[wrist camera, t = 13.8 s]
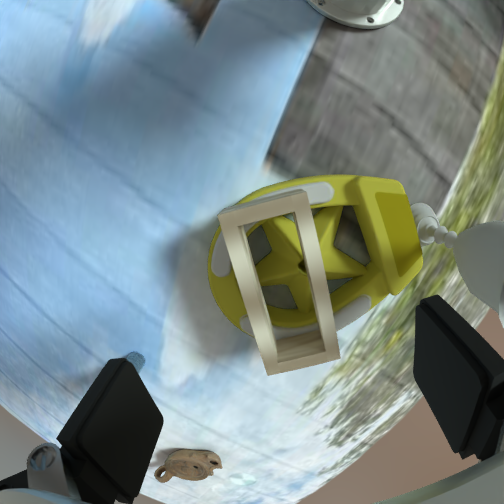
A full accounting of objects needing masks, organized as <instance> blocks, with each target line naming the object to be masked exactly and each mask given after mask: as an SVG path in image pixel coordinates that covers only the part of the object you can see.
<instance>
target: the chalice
mask: <svg viewBox="0 0 504 504" xmlns="http://www.w3.org/2000/svg"><path fill="white" fill-rule="evenodd" d="M410 207H411V211H412V214H413V218H414V221H415V225H416V229H417V233H418V237H419V241H420V245H421V247H422V246H426V245H429V244H431V243H433V242H434V241H435V242H436V243H437V244H442V243H445V246H446V247H447V248H452V247H453V253H454V257H455V260H456V263H457V266H458V269H459V272H460V274H461V276H462V278H463V280H464V281H465V283H466V285H467V287H468V289H469V291H470V293H472V294H473V295H474V296H476V297H477V298H478V299H480V300H481V301H483V302H484V303H485V304H487V305H488V306H489V307H491V308H492V309H493V310H495V311H496V312H497V313H498V315H499V318H500V320H501V323H502V325H503V328H504V222H503V221H500V220H497V221H492V222H487V223H483V224H479V225H476V226H474V227H472V228H469V229H467V230H465V231H463V232H462V233H460V234H459V235H458V236H457V234H456V233H455V232H454V231H450V232H447V229H446V228H445V227H444V226H440V223H439V220H438V218H437V216H436V215H435V213H434V211H433V210H432V208H431V207H429V206H428V205H427V204H423V203H416V204H413V205H411V206H410Z"/></svg>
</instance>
